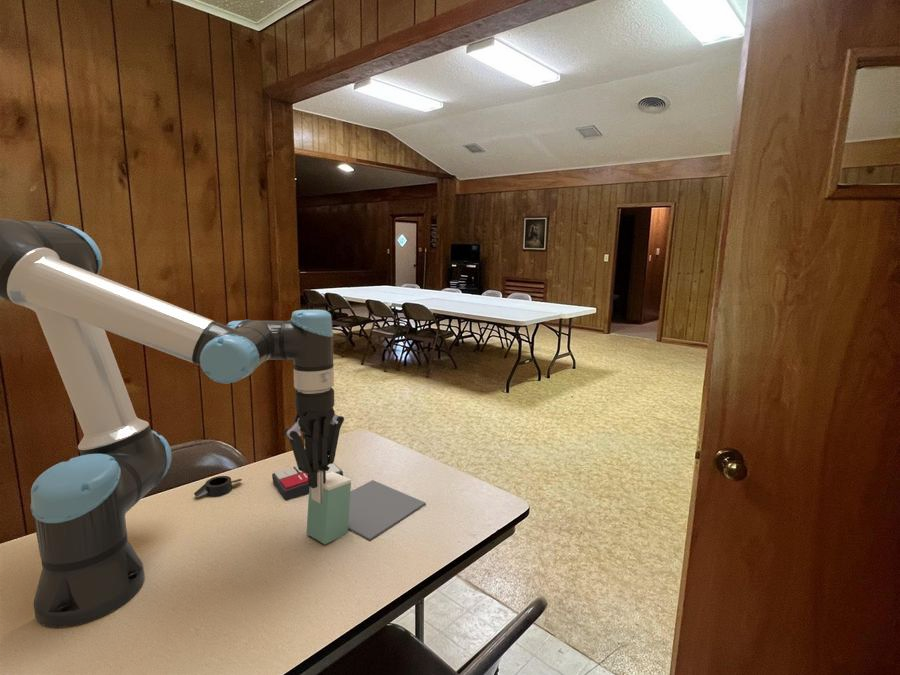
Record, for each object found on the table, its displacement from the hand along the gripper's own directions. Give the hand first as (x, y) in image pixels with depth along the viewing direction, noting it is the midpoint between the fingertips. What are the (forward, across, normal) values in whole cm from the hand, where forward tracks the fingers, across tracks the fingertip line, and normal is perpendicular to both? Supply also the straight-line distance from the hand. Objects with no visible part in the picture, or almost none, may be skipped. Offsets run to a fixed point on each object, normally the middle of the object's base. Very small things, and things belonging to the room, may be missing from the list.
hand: (317, 500), depth 95 cm
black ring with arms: (+9, -3, +36) cm, 37 cm away
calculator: (+9, +14, +22) cm, 27 cm away
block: (+9, +2, 0) cm, 9 cm away
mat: (+9, +15, +1) cm, 18 cm away
